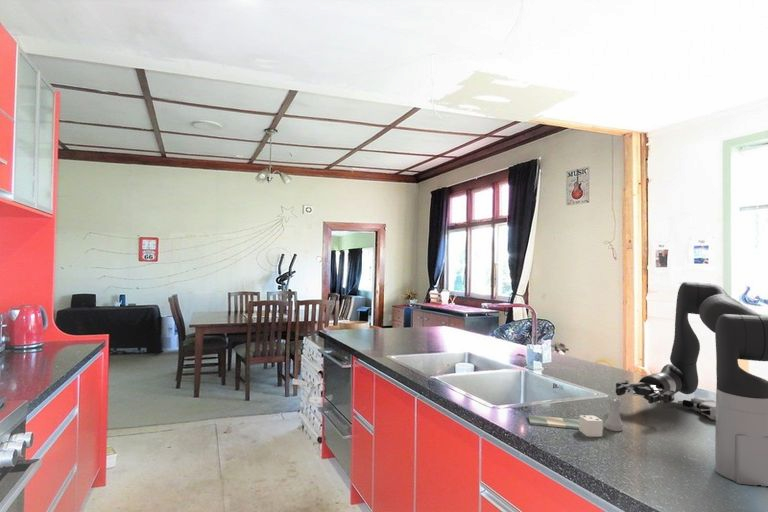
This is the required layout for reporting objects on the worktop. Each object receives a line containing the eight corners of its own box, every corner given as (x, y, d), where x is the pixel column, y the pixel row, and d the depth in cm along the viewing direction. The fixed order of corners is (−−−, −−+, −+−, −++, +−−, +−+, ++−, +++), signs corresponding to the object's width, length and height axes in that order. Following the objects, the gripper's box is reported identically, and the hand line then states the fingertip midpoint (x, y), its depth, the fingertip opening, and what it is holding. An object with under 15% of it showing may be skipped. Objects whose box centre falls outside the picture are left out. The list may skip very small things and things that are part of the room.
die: (602, 436, 116) (602, 420, 116) (586, 436, 116) (587, 420, 116) (594, 431, 120) (594, 415, 120) (579, 430, 120) (579, 415, 120)
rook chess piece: (625, 432, 120) (626, 401, 120) (607, 430, 121) (607, 400, 121) (620, 426, 124) (621, 396, 124) (602, 425, 125) (603, 395, 125)
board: (602, 431, 120) (602, 428, 120) (530, 424, 124) (530, 422, 124) (596, 423, 126) (596, 421, 126) (527, 417, 129) (527, 415, 129)
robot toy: (674, 410, 143) (713, 424, 128) (674, 395, 143) (712, 407, 129) (711, 411, 144) (754, 424, 129) (711, 396, 145) (753, 407, 130)
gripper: (633, 369, 145) (608, 376, 135) (684, 379, 134) (661, 388, 124) (632, 393, 145) (607, 402, 135) (683, 405, 134) (660, 416, 124)
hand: (633, 395), depth 130 cm, fingers open, 8 cm apart
